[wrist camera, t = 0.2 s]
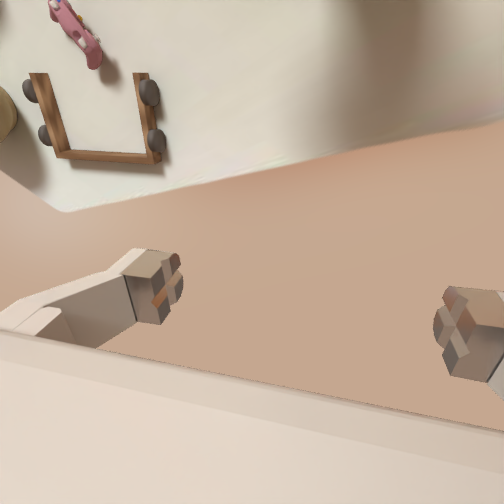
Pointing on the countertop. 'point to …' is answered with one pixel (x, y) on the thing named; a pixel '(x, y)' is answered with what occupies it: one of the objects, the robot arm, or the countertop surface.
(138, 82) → the chassis bay
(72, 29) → the video game controller
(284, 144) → the countertop surface
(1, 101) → the planter bowl
